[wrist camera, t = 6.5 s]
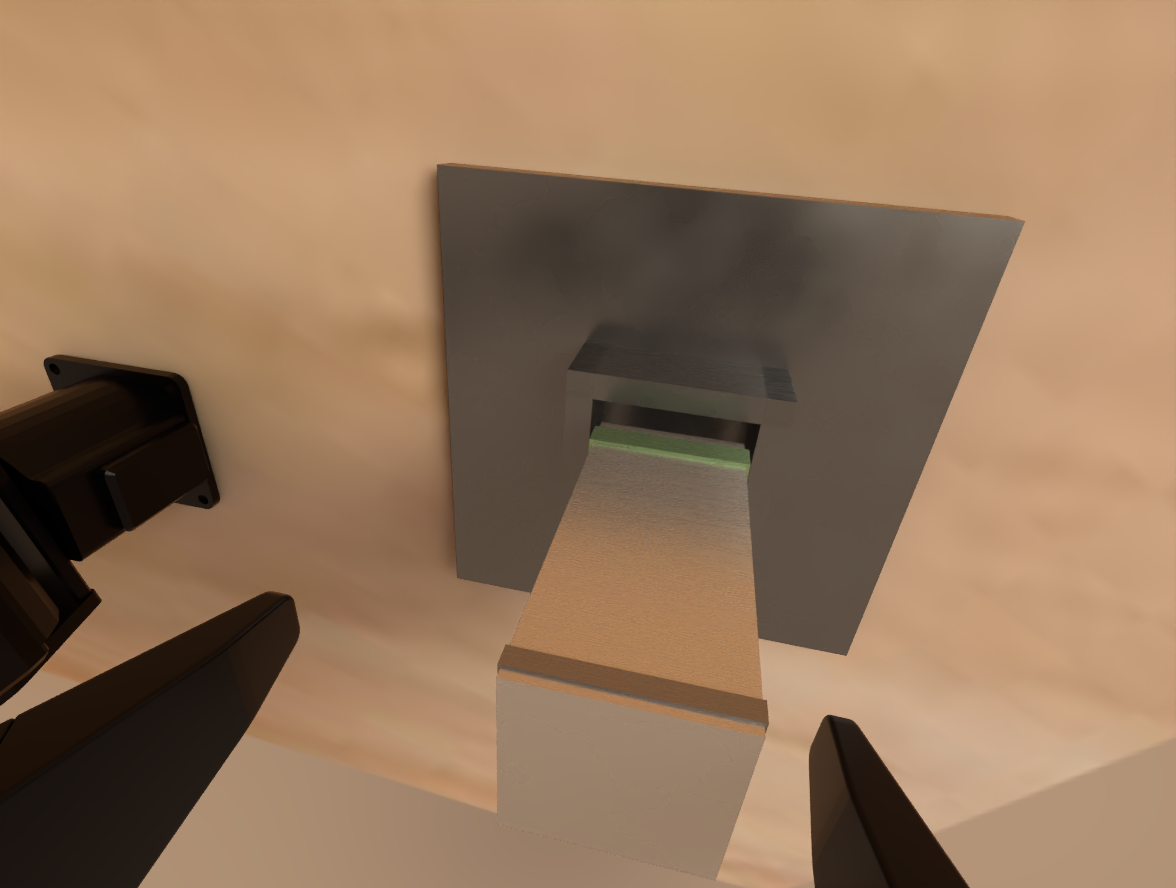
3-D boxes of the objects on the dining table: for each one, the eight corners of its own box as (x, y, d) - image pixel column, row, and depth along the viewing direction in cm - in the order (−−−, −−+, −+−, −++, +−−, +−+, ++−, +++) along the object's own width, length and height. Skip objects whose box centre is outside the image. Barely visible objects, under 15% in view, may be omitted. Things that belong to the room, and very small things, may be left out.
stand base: (466, 562, 26) (432, 620, 23) (450, 163, 18) (396, 169, 15) (841, 636, 24) (859, 710, 21) (1008, 216, 16) (1076, 236, 13)
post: (588, 535, 19) (492, 825, 11) (598, 417, 17) (490, 671, 9) (720, 560, 18) (719, 884, 10) (748, 441, 16) (773, 734, 8)
